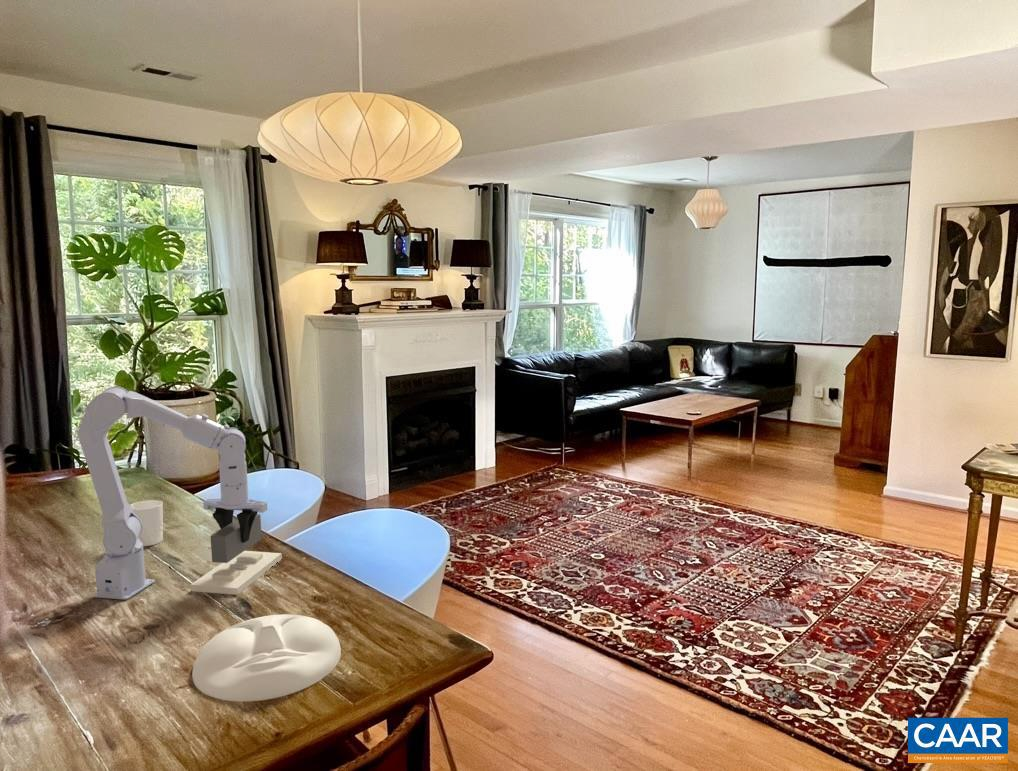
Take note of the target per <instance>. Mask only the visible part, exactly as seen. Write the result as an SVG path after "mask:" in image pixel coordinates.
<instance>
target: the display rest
mask: <svg viewBox="0 0 1018 771" xmlns="http://www.w3.org/2000/svg"><path fill="white" fill-rule="evenodd" d="M282 554H283V553H281V552H269V551H256V550H255V551H253V550H245V551H243V552H242V553H241V554H239V555H238V556H236V557H235V558H233V559H232V560H231V561H229V562H228V563H219V564H218V565H217V566H215V567H214V568H213V569H211V570H210V571H208V572H206V573H205V574H204V575H202V576H201V577H200V578H198V579H196V580H195V581H193V582H192V583H191V584H190V592H194V593H196V592H197V593H208V594H221V595H223V594H224V595H235V596H238V595H240V594H241V593H242V592H244V591H245V589H247V588H249V586H250V585H252V584H253V583H254V582H256V581H257V580H258V579H259V578H261V577H262V576H263V575H264V574H266V573H267V572H269V570H270V568H271V567H272V566H273V567H274V566H276V565H277V564H278V563H280V562H281V561H282V560H283V555H282ZM281 559H282V560H281ZM277 562H278V563H277ZM276 563H277V564H276ZM273 567H272V568H273ZM272 568H271V569H272ZM266 571H267V572H266ZM265 572H266V573H265ZM260 576H261V577H260Z"/></svg>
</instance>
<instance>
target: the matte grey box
mask: <svg viewBox="0 0 1018 771" xmlns="http://www.w3.org/2000/svg"><path fill="white" fill-rule="evenodd" d="M261 518H262V517H261V513H259V514H258V513H257V515H256V517H255V519H254V521H253V524H252V527H251V531H250V536H249V540H248V541H246V542H245V543H242V541H241V531H240V525H239V521H238V518H237V519H236V520H233V522H232V523H231V524H229V525H227V526H226V527H224V528H222V529H221V528H220V529H219V530H218V531H216V532H214V533H213V534H211V535H210V548H211V551H210V552H211V562H212V563H219V564H221V563H228V562H229V561H231V560H232V559H233V558H235V557H236V556H238V555H239V554H241V553H242V552H243V551H247V550H248V549H249V548H250V547H252V546H253V545H255V544H257V543H258V542H259V541H260V540H262V521H261Z"/></svg>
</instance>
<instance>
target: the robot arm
mask: <svg viewBox="0 0 1018 771" xmlns="http://www.w3.org/2000/svg"><path fill="white" fill-rule="evenodd" d="M84 410H85V411H84V413H83V416H82V420H81V422H80V425H79V427H78V429H77V437H78V440H79V444H80V446H81V449H82V453H83V456H84V458H85V463H86V466H87V469H88V471H89V474H90V478H91V481H92V483H93V487H94V490H95V493H96V496H97V500H98V503H99V505H100V508H101V511H102V528H103V532H104V534H103V537H102V545H103V547H104V549H105V553H104V556H103V557H102V559H101V560H100V561H98V562H97V564H96V566H95V569H94V574H95V584H96V586H95V587H96V593H95V594H94V595H93V598H101V599H112V600H114V599H115V600H123V601H124V600H129V599H130V598H132V597H133V596H135V595H136V594H139V593H140V592H141V591H142V590H144V589H146V588H147V587H149V586H150V585H153V584H154V583H155V582H156V580H155V579H151V578H146V568H145V566H146V565H145V554H144V553H145V552H144V546H143V543H142V542H141V541H140V540H139V538H138V536H139V535H140V534H141V531H142V527H143V526H142V522H141V520H140V519H139V518H138V517H137V516H136V515H135V514H134V512H133V509H132V507H131V504H130V503H129V502H128V500H127V495H126V493H125V490H124V487H123V486H124V485H123V484H122V480H121V477H120V474H119V471H118V467H117V464H116V462H115V458H114V454H113V450H112V448H111V445H110V442H109V439H108V435H107V434H108V433H109V431H110V430H111V428H112V426H114V424H115V423H116V422H117V421H119V420H120V419H121V418H122V417H123V416H124V414H126V419H127V420H128V419H129V420H130V419H135V418H141V417H145V418H147V419H149V420H153V421H156V422H158V423H161V424H164V425H166V426H169V427H172V428H174V429H177V430H179V431H180V432H181V433H182V436H183V438H184V439H186V440H188V441H191V442H194V443H196V444H198V445H201V446H203V447H206V448H208V449H210V450H216V451H217V453H218V454H219V462H220V463H219V466H218V469H219V470H218V471H219V485H220V486H219V487H220V498H207V499H205V500H203V501H202V502H203V503H202V504H203V506H202V507H203V510H206V511H207V510H215V511H214V512H213V513H212V518H213V519H214V521H215V522H216V524H218V526H219V528H220V530H221V529H222V528H224V527H226V526H227V525H229V524H231V523H232V522H234V520H233V518H234V512H235V511H241V512H239V513H238V514H236V518H237V519H238V521H239V525H240V531H241V541H242V543H245V542H246V541H248V540H249V536H250V531H251V527H252V524H253V521H254V519H255V517H256V515H257V514H258V513H259V514H263V513H265V512H266V511H268V502H267V501H261V500H260V501H259V500H256V499H251V498H249V490H248V489H249V488H248V486H249V485H248V470H247V469H248V466H247V461H246V459H247V458H246V456H247V455H246V448H247V445H246V436H245V435H244V433H243V432H242V431H241V430H239V429H238V428H236V427H230V425H229V424H224V425H222V424H221V423H219V422H216V421H215V420H214V421H213V420H212V419H209V415H207V414H206V413H203V414H201V415H199V414H198V413H197V414H193V415H190V416H188V415H185V414H183V413H181V412H180V411H177V410H175V409H173V408H170V407H168V406H166V405H165V404H163V403H160V402H157V401H156V400H154V399H151V398H149V397H148V396H145V395H143V394H140V393H138V392H136V391H132V390H129V391H128V390H127V389H125V388H124V387H121V386H110V387H107V388H105V389H104V390H103V391H102V392H101V393H99V394H97V395H95V397H93V398H92V400H91V401H89V403H88V404H87V405H86V406H85V409H84Z"/></svg>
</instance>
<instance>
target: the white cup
mask: <svg viewBox="0 0 1018 771" xmlns="http://www.w3.org/2000/svg"><path fill="white" fill-rule="evenodd" d="M130 505H131V507H132V509H133V512H134V514H135V515H136V516H137V517H138V518H139V519H140V520H141V522H142V526H143V527H142V531H141V534H140V535H139V536H138V538H139V540H140V541H141V542H142V543H143V547H148V546H149V547H150V546H154V545H157V544H160V543H162V542H163V539H164V532H163V531H164V510H163V509H164V504H163V501H161V500H158V499H151V500H150V499H149V500H147V499H146V500H142V501H136V502H134V503H131V504H130Z"/></svg>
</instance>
